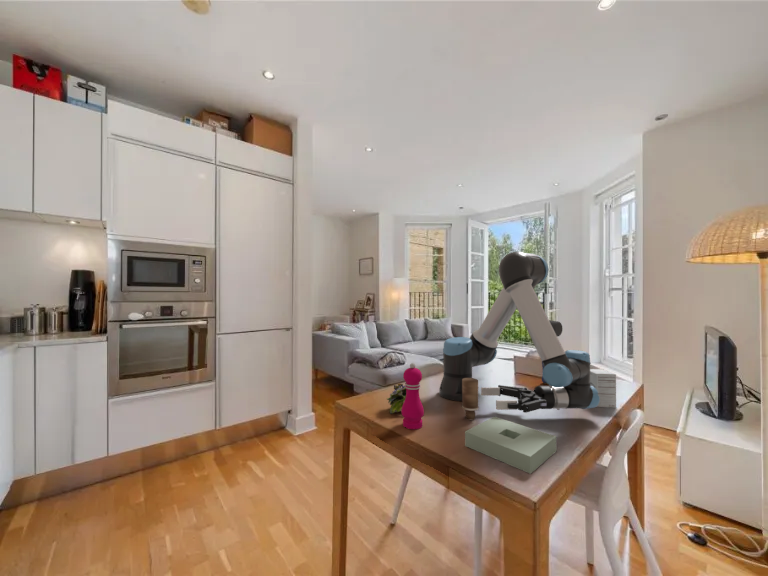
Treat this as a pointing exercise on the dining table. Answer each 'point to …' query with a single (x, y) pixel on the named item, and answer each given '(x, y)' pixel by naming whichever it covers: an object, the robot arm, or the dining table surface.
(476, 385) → the walnut peg
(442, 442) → the dining table surface
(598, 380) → the supplement box
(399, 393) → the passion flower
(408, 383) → the pepper mill
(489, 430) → the sage board
